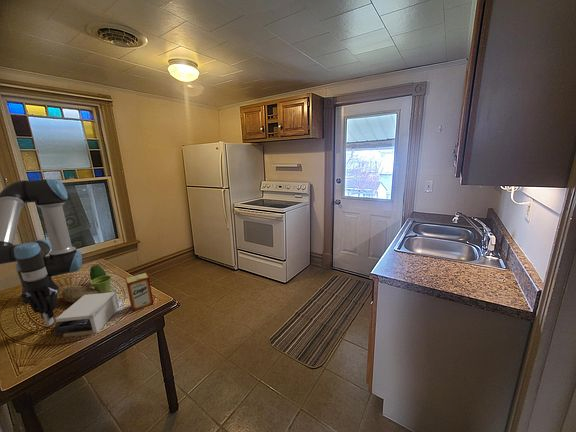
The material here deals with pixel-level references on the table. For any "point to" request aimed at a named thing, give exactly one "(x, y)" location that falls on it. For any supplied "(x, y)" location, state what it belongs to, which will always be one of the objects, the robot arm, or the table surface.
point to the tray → (73, 326)
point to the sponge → (77, 292)
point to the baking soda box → (139, 291)
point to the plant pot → (102, 284)
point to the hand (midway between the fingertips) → (50, 323)
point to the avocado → (96, 272)
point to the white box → (91, 311)
